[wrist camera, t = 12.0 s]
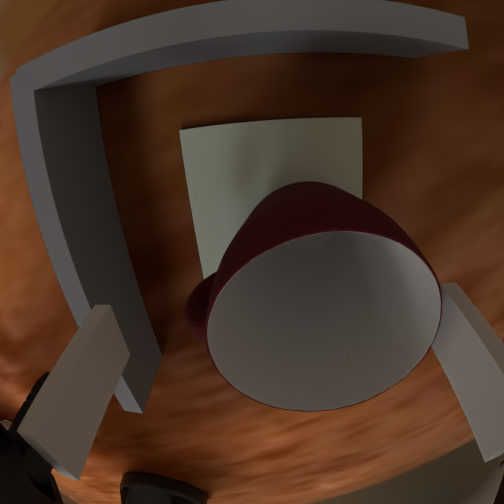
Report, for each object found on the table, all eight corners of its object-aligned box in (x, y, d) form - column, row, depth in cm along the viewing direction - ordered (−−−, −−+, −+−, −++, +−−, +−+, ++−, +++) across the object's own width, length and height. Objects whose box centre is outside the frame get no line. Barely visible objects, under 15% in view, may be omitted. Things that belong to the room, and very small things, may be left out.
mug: (249, 316, 22) (239, 444, 13) (174, 226, 19) (106, 339, 10) (388, 241, 19) (460, 353, 10) (326, 127, 16) (395, 169, 7)
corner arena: (389, 345, 23) (410, 402, 18) (146, 355, 25) (124, 410, 20) (410, 34, 13) (464, 17, 8) (73, 71, 15) (9, 72, 10)
